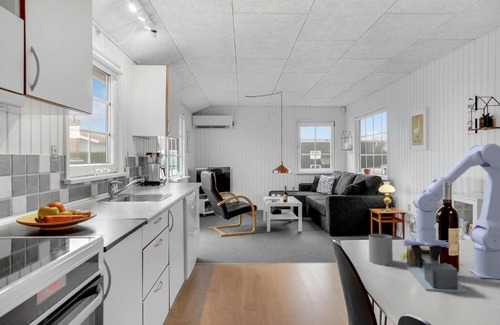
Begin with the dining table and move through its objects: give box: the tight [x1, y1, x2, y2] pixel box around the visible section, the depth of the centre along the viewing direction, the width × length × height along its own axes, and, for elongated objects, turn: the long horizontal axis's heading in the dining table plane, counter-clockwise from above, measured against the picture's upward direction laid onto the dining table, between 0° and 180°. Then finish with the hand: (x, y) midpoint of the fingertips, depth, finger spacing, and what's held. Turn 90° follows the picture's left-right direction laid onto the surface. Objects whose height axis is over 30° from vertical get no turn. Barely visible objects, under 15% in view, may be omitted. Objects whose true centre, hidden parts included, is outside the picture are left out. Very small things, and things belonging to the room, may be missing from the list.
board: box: [402, 262, 468, 294], centre depth 106 cm, size 11×25×1 cm, turn 168°
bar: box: [415, 252, 441, 272], centre depth 108 cm, size 4×17×5 cm, turn 168°
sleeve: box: [424, 262, 459, 290], centre depth 98 cm, size 6×8×6 cm
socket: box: [406, 246, 430, 266], centre depth 116 cm, size 8×4×6 cm, turn 78°
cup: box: [368, 233, 394, 266], centre depth 123 cm, size 8×8×10 cm
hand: (426, 267), depth 110 cm, fingers closed on bar, 3 cm apart
